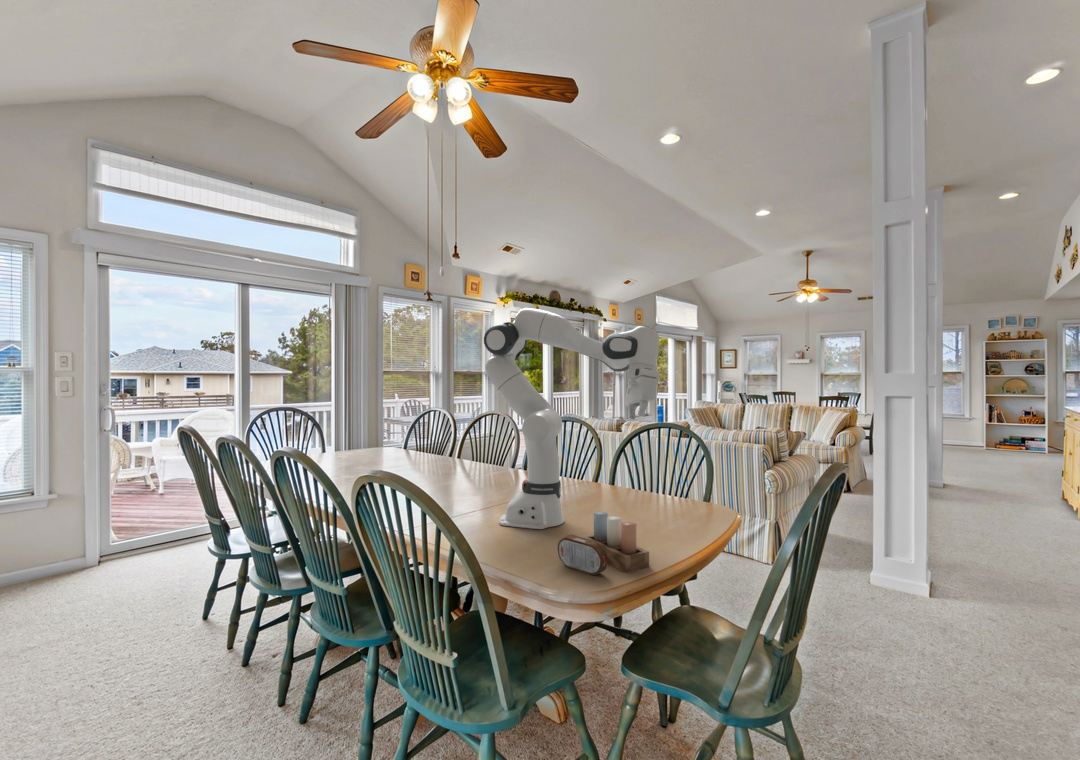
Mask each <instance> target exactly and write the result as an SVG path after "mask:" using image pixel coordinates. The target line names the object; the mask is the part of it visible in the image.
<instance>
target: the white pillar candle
mask: <svg viewBox="0 0 1080 760" xmlns="http://www.w3.org/2000/svg"><path fill="white" fill-rule="evenodd" d="M622 519H623V518H622V517H620V516H615V515H614V516H613V515H612V516H608V517H607V546H609V547H611V548H617V547H621V523H622V521H623V520H622Z"/></svg>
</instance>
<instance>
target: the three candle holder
mask: <svg viewBox="0 0 1080 760" xmlns="http://www.w3.org/2000/svg"><path fill="white" fill-rule="evenodd" d="M581 537H582V536H581ZM582 538H586V539H589V540H593V541H595V540H594V534H592V535H587V536H583V537H582ZM596 542H598V541H596ZM598 543H599V544H601V545H602V546H603V548H604V549H605V551H606V553H607V556H608V565H609V564H610V566H611V565H612V566H611V567H613V566H614V567H613V568H615V567H616V569H617V568H618V570H619V569H620V570H619V571H621V570H622V571H621V572H623V571H624V573H625V572H626V574H627V573H630V572H634V571H638V570H642V569H645V568H649V567H650V552H649V551H648V550H646V549H644V548H642V547H639V546H637V545H636V553H635V554H631V555H627V554H624V553H622V552H621V547H617V548H611V547H609V546H607V541H603V542H598Z"/></svg>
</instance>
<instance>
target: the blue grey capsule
mask: <svg viewBox="0 0 1080 760" xmlns="http://www.w3.org/2000/svg"><path fill="white" fill-rule="evenodd" d="M607 517H609V513H608V512H606V511H595V512H594V513H593V535H594V540H595V541H598V542H603V541H607Z"/></svg>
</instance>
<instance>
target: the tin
mask: <svg viewBox="0 0 1080 760" xmlns="http://www.w3.org/2000/svg"><path fill="white" fill-rule="evenodd" d="M557 554H558V558H559V560H560V561H561V562H562V564H563V565H564V566H565V567H567V568H569V567H570V568H569V569H573V570H575V569H576V571H578V570H579V572H581V571H582V572H581V573H584V572H585V574H587V573H588V575H590V574H591V576H596V575H598V574H600V573H602V572H604V571H606V569H607V568H608V565H609V564H608V556H607V553H606V551H605V549H604V548H603V546H602V545H601V544H599V543H598V542H596V541H593V540H589V539H586V538H582V536H578V535H575V534H567V535H566V536H564V537H562V538H561V539H560V540H559V542H558V543H557Z"/></svg>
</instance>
